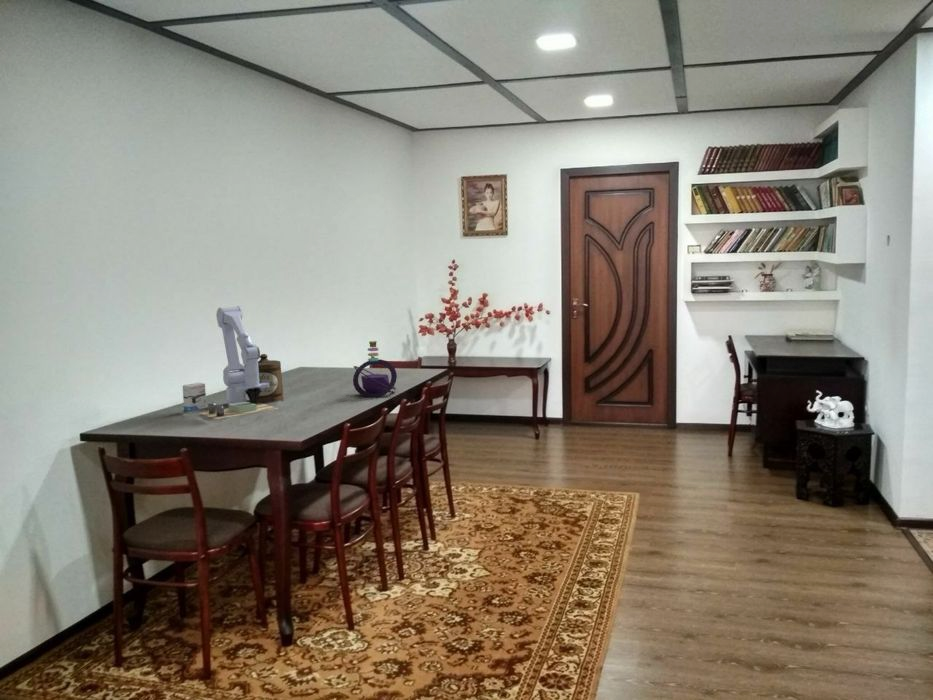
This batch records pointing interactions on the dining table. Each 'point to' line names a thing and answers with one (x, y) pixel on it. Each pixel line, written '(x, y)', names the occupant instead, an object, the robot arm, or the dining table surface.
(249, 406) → the mint green book-shaped slab
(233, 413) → the bench board
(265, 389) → the wooden container
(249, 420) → the dining table surface
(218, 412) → the cylinder
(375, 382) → the decorative bottle
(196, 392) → the ink box
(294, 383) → the dining table surface
